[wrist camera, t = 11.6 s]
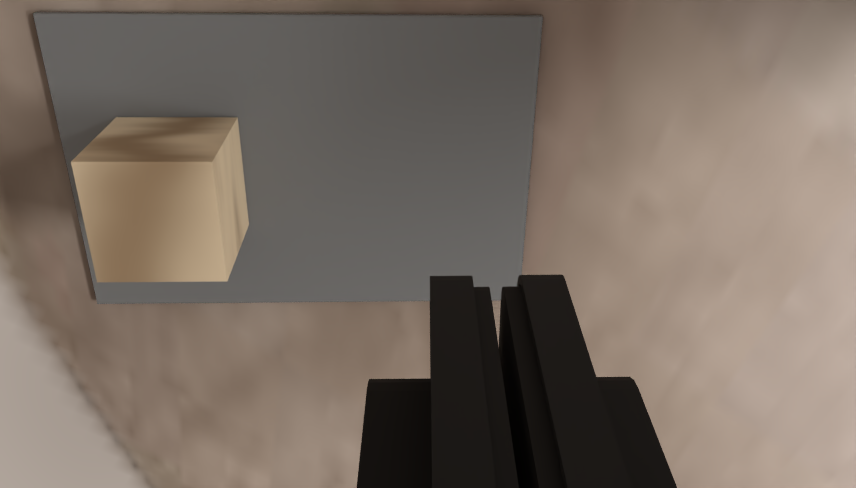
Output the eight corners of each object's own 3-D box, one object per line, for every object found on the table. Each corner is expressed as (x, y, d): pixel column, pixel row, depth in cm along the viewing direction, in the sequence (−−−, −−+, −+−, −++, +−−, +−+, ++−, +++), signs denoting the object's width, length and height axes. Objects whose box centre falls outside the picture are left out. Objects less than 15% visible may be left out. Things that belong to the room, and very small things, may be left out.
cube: (70, 161, 33) (116, 116, 38) (97, 282, 35) (136, 224, 41) (212, 161, 33) (237, 116, 38) (227, 281, 36) (249, 223, 41)
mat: (541, 15, 37) (542, 17, 36) (518, 296, 44) (519, 300, 44) (36, 11, 36) (32, 13, 35) (99, 299, 43) (97, 303, 43)
